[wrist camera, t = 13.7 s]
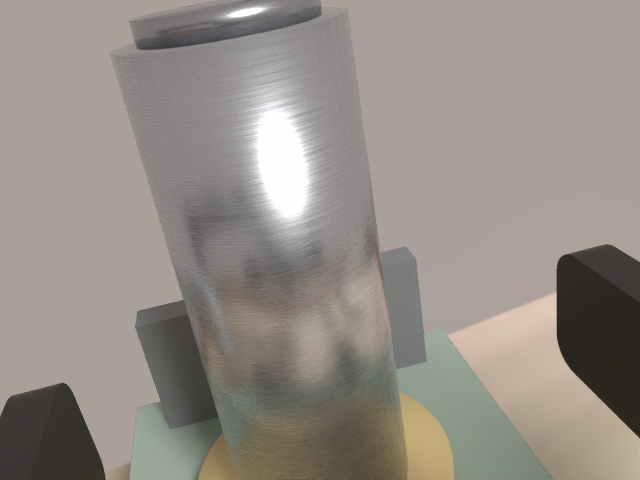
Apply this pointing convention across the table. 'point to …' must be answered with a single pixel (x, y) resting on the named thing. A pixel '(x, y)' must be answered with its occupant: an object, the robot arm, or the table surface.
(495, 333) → the table surface
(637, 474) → the table surface
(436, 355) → the green and yellow block
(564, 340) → the robot arm
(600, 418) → the table surface
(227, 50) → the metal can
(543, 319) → the table surface
